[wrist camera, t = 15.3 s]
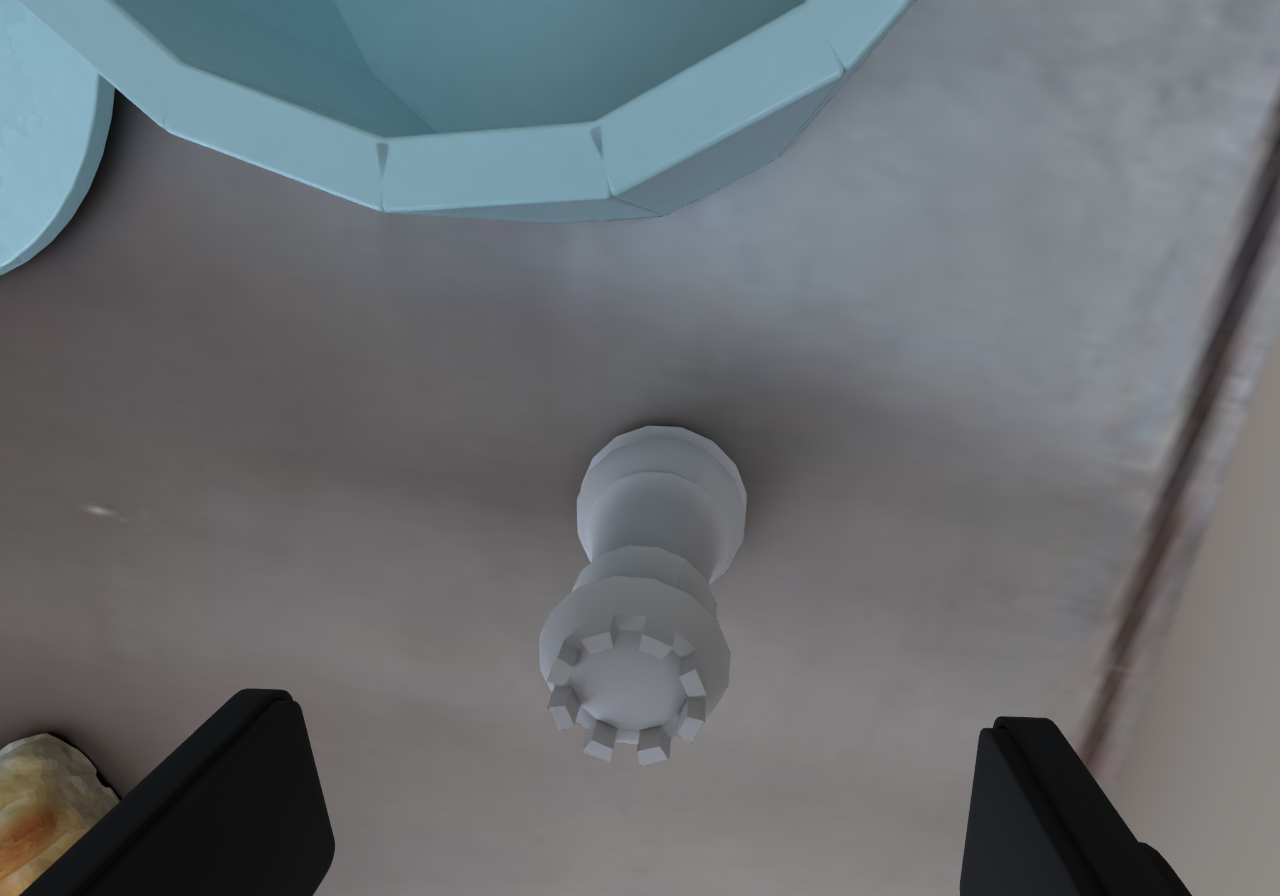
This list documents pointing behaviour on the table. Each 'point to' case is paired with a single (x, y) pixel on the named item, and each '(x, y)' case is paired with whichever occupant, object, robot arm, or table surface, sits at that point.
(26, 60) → the pot lid
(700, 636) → the rook chess piece
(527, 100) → the pot
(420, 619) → the table surface
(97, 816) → the pastry
